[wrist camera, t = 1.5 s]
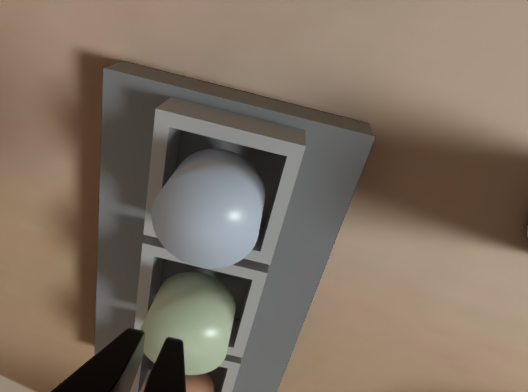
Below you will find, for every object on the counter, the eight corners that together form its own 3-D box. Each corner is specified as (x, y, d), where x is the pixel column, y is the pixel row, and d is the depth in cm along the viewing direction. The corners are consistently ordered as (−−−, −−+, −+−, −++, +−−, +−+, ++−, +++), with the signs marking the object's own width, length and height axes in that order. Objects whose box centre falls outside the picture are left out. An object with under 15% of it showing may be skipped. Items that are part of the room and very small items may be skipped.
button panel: (270, 385, 28) (266, 442, 24) (107, 347, 27) (78, 399, 24) (368, 123, 18) (384, 153, 15) (122, 60, 18) (79, 76, 15)
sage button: (228, 339, 20) (218, 382, 18) (154, 322, 20) (135, 363, 18) (243, 283, 19) (234, 323, 16) (162, 263, 18) (142, 301, 16)
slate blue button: (254, 241, 17) (246, 278, 15) (167, 220, 17) (147, 254, 15) (275, 162, 16) (270, 190, 13) (178, 138, 15) (156, 162, 13)
